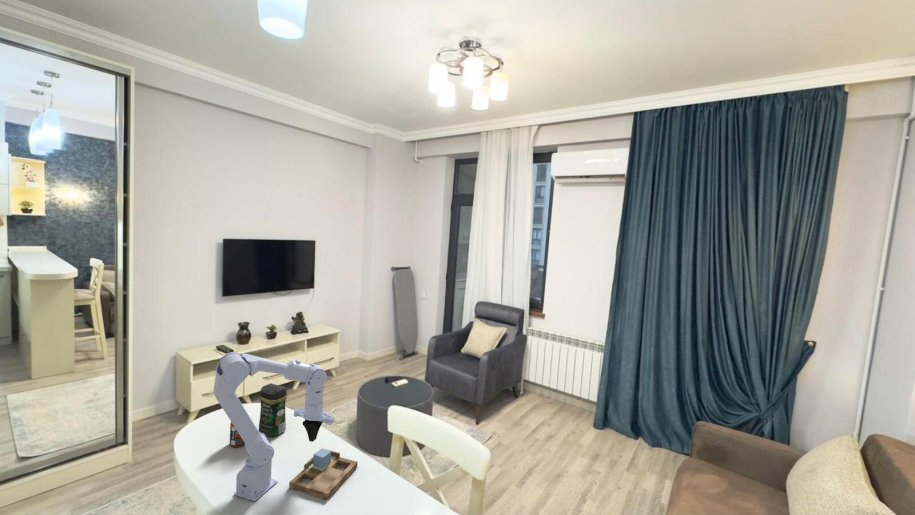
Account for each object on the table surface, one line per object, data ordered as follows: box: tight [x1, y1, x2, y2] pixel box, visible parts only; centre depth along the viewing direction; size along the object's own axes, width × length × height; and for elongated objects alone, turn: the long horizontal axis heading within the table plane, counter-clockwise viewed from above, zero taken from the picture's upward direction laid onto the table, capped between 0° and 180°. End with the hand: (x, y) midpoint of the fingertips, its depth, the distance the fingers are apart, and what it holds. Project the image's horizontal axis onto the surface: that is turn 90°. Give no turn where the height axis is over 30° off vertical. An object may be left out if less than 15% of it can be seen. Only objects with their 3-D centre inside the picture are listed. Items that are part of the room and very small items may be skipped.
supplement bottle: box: [229, 421, 245, 448], centre depth 141 cm, size 6×6×11 cm
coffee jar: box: [258, 382, 288, 438], centre depth 150 cm, size 10×8×19 cm
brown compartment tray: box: [288, 449, 359, 501], centre depth 126 cm, size 17×14×4 cm
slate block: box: [312, 447, 332, 469], centre depth 129 cm, size 4×4×4 cm
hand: (312, 440), depth 130 cm, fingers closed
